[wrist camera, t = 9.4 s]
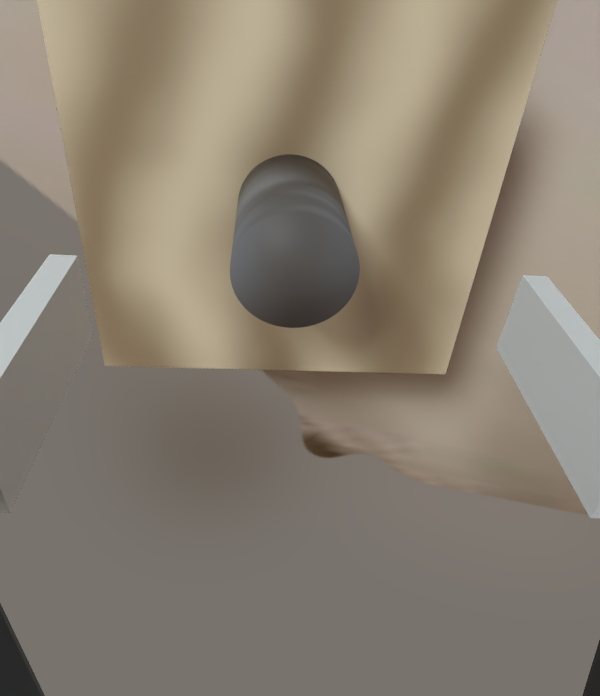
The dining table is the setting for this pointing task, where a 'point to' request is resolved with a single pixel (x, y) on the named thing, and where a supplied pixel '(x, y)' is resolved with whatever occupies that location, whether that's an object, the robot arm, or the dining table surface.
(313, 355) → the oak lid
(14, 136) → the dining table surface
